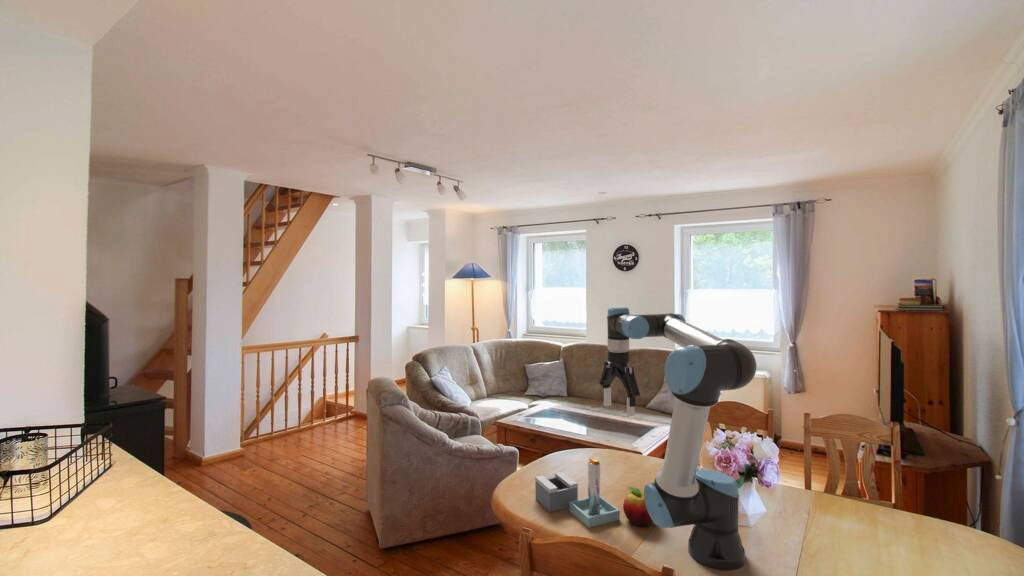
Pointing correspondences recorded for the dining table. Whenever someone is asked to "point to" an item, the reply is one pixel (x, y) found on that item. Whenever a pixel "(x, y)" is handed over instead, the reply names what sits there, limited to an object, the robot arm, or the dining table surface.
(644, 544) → the dining table surface
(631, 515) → the fruit
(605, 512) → the tray
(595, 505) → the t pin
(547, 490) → the block
